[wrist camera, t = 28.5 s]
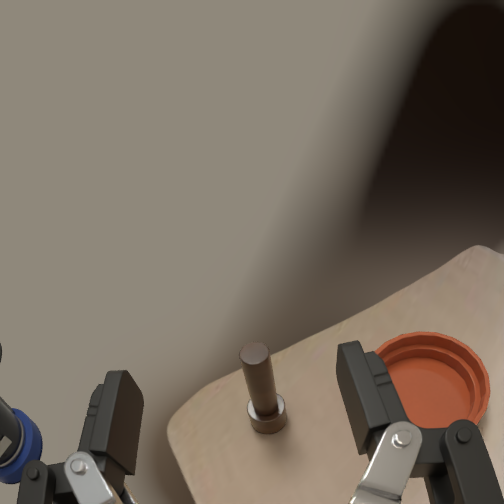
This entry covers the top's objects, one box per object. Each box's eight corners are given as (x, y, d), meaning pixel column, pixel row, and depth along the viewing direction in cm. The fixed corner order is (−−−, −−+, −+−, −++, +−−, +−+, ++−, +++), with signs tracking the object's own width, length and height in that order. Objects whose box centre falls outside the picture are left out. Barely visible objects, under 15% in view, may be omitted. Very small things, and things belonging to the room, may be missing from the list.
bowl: (330, 405, 33) (332, 386, 31) (409, 335, 39) (414, 314, 37) (428, 484, 22) (441, 472, 20) (496, 390, 28) (508, 370, 26)
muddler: (244, 416, 34) (222, 350, 27) (272, 398, 35) (259, 329, 29) (264, 440, 31) (247, 379, 24) (293, 420, 32) (287, 354, 26)
